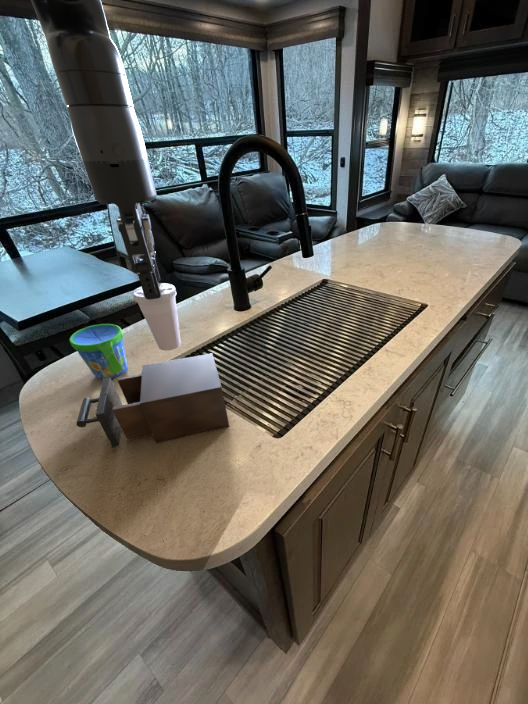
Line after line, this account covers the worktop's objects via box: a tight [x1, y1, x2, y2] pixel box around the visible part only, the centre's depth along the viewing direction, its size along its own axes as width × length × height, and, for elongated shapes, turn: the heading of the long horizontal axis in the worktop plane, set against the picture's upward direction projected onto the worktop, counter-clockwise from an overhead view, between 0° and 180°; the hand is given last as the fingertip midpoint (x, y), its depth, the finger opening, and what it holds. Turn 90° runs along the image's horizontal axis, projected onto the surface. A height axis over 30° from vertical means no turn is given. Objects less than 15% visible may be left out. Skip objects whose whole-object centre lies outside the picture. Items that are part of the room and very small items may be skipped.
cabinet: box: [140, 353, 230, 444], centre depth 65 cm, size 14×13×10 cm
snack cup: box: [69, 323, 129, 380], centre depth 77 cm, size 16×10×10 cm
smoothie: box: [132, 282, 182, 351], centre depth 53 cm, size 6×6×14 cm
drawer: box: [75, 373, 153, 448], centre depth 62 cm, size 17×11×8 cm
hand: (153, 289), depth 51 cm, fingers closed on smoothie, 6 cm apart
